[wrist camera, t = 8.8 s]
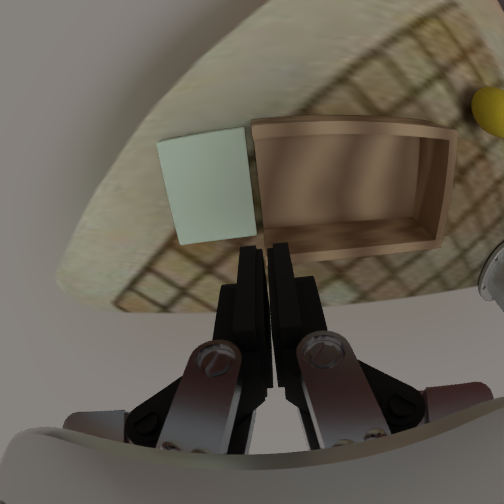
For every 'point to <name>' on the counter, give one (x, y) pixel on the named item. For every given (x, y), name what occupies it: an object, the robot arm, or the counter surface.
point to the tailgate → (208, 185)
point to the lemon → (489, 110)
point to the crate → (353, 184)
